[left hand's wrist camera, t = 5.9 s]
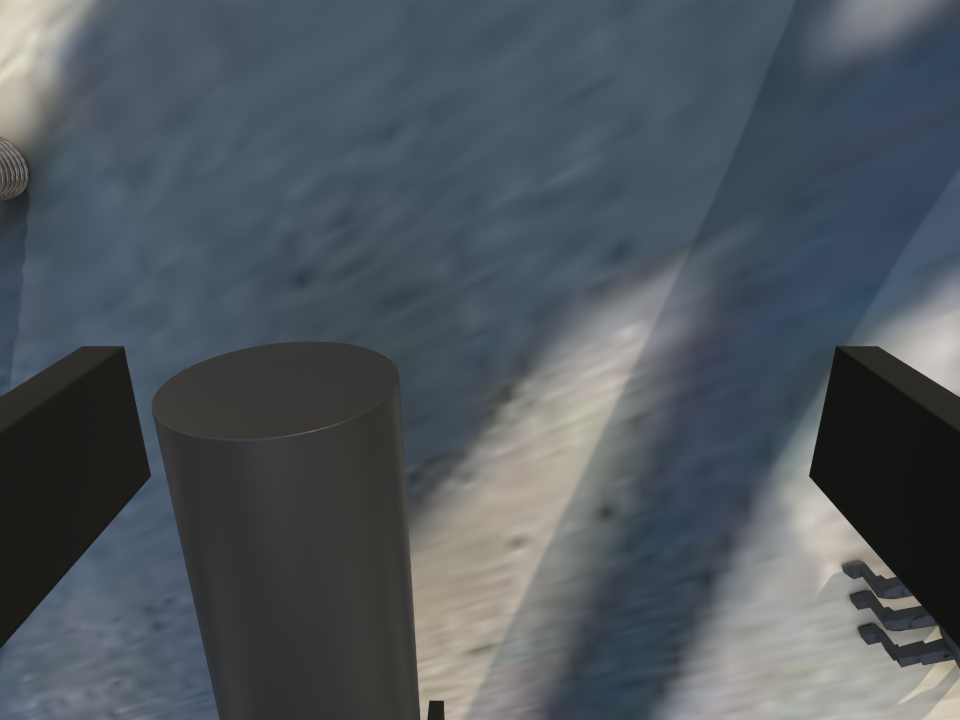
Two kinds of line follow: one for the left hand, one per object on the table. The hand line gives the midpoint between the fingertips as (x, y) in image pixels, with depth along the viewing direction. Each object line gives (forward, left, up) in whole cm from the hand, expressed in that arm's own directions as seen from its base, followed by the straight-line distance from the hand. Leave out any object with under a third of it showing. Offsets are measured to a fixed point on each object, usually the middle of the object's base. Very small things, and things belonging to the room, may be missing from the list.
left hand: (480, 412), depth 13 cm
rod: (+15, +11, -15) cm, 24 cm away
